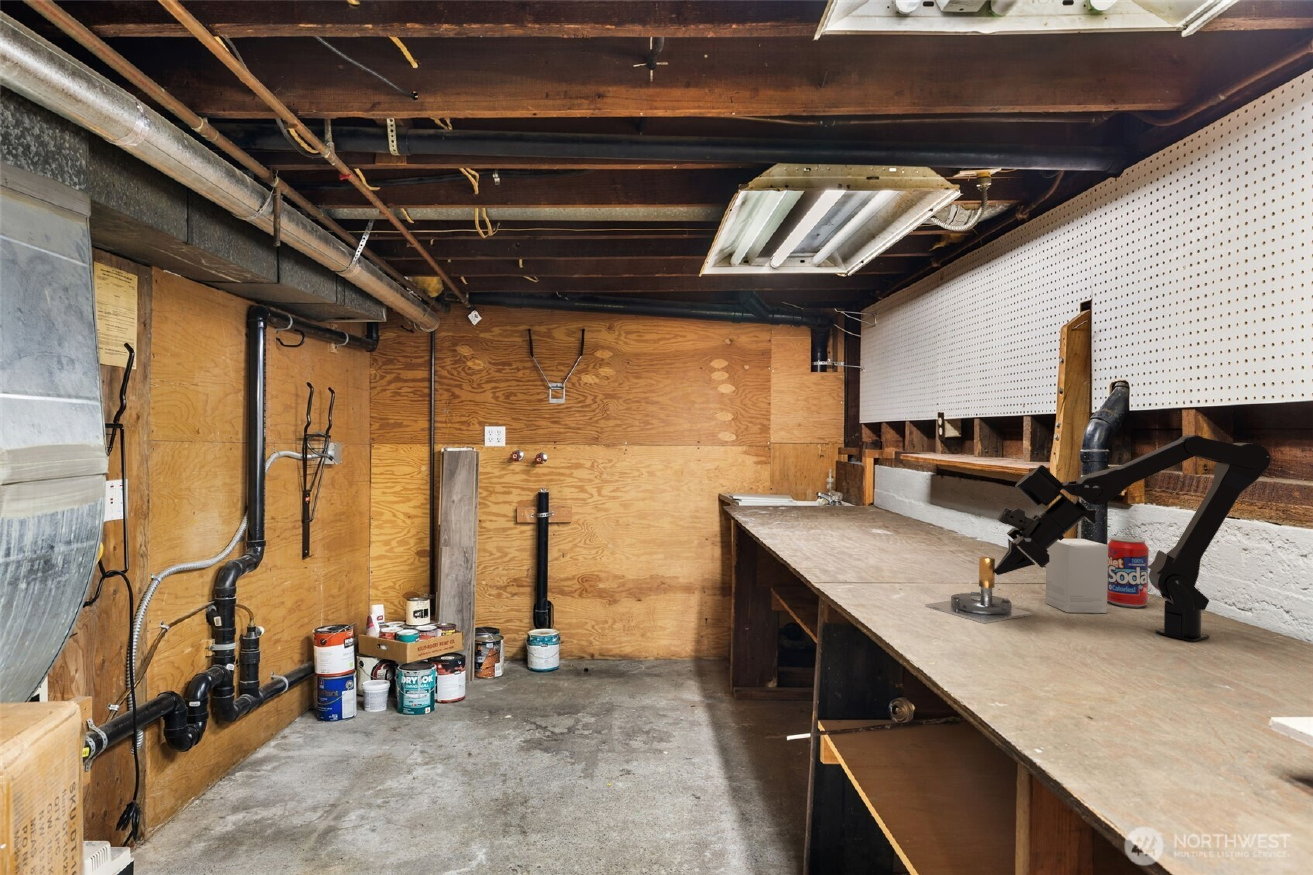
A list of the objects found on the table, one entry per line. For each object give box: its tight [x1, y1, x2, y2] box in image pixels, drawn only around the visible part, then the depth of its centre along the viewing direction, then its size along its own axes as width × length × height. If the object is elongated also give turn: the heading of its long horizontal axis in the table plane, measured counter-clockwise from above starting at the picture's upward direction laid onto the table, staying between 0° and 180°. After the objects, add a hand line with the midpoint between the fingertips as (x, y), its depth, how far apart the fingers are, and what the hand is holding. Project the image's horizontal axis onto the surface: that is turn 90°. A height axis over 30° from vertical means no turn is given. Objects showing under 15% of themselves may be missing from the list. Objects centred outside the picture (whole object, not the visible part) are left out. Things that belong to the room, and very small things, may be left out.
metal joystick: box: [950, 556, 1013, 614], centre depth 152 cm, size 12×12×12 cm
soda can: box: [1106, 536, 1150, 609], centre depth 159 cm, size 8×8×15 cm
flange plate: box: [924, 599, 1033, 624], centre depth 152 cm, size 15×15×3 cm
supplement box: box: [1045, 538, 1108, 614], centre depth 155 cm, size 9×9×15 cm
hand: (995, 573), depth 146 cm, fingers closed, pressing on metal joystick
